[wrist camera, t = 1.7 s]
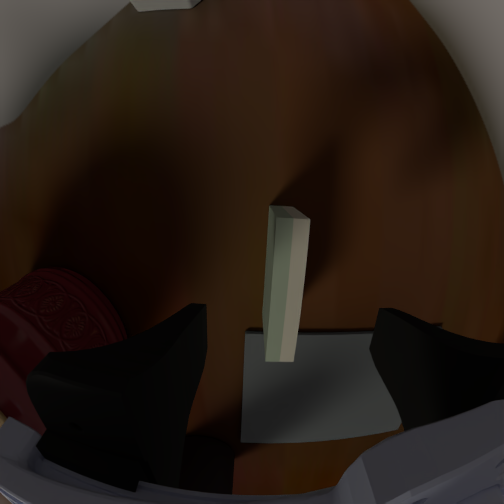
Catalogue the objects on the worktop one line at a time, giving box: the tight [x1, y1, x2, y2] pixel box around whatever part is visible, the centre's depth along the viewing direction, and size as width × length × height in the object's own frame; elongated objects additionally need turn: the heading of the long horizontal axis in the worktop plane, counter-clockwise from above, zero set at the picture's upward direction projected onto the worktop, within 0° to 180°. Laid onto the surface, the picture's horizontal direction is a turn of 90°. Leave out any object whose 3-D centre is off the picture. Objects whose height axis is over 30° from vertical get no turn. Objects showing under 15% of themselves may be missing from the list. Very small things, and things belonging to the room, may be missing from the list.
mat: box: [241, 326, 442, 443], centre depth 23 cm, size 18×14×1 cm
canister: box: [0, 267, 128, 436], centre depth 13 cm, size 13×13×18 cm
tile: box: [262, 205, 310, 362], centre depth 17 cm, size 2×8×6 cm, turn 177°
